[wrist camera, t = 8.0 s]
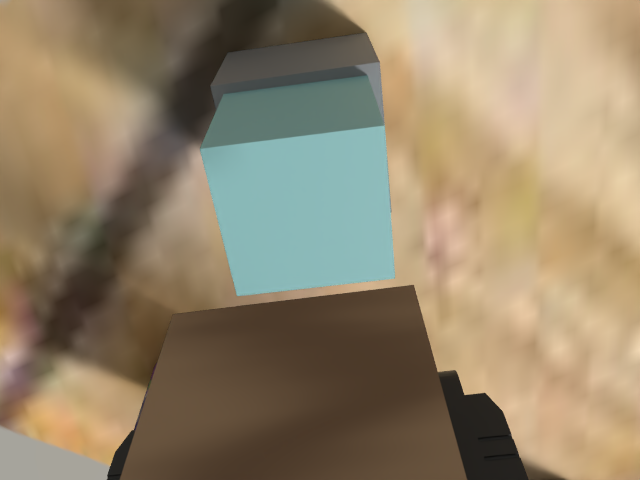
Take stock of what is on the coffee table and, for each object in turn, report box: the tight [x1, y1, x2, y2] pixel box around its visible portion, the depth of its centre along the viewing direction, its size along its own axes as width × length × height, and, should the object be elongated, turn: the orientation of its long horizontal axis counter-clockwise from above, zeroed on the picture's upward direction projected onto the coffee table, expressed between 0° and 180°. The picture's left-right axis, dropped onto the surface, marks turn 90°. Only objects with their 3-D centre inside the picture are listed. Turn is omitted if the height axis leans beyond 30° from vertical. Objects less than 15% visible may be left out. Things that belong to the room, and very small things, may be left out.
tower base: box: [210, 33, 391, 211], centre depth 27 cm, size 7×7×6 cm
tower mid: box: [200, 75, 395, 296], centre depth 22 cm, size 6×6×6 cm
